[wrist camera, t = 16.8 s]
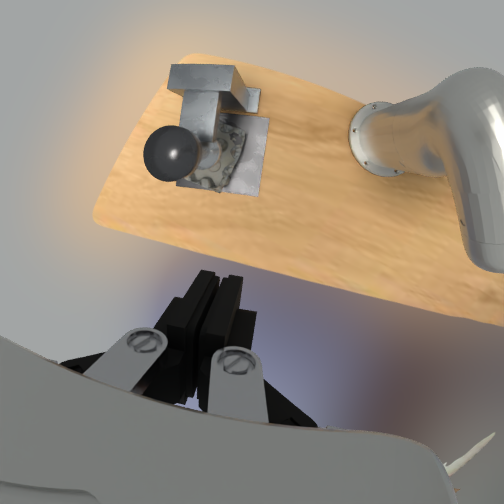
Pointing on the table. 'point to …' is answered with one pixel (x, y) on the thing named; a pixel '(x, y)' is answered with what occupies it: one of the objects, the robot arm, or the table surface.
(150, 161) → the disc
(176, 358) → the robot arm
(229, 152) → the egg carton
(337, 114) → the table surface
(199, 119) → the press frame
